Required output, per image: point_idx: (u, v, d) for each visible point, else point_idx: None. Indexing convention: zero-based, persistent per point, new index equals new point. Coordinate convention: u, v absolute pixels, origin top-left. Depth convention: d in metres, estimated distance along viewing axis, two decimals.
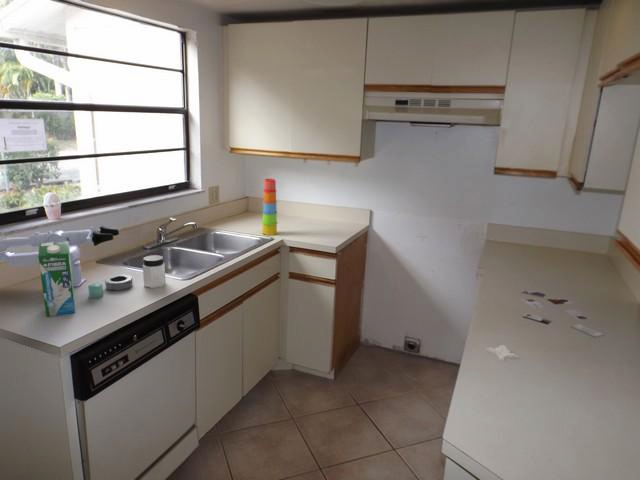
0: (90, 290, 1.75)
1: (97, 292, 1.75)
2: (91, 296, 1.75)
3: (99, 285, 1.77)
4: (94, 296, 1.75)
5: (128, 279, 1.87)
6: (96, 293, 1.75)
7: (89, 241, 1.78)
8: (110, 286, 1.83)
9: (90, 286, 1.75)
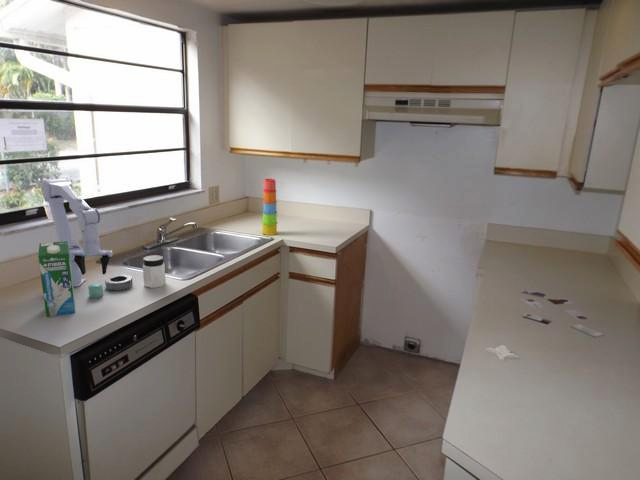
0: (90, 290, 1.75)
1: (97, 292, 1.75)
2: (91, 296, 1.75)
3: (99, 285, 1.77)
4: (94, 296, 1.75)
5: (128, 279, 1.87)
6: (96, 293, 1.75)
7: None
8: (110, 286, 1.83)
9: (90, 286, 1.75)
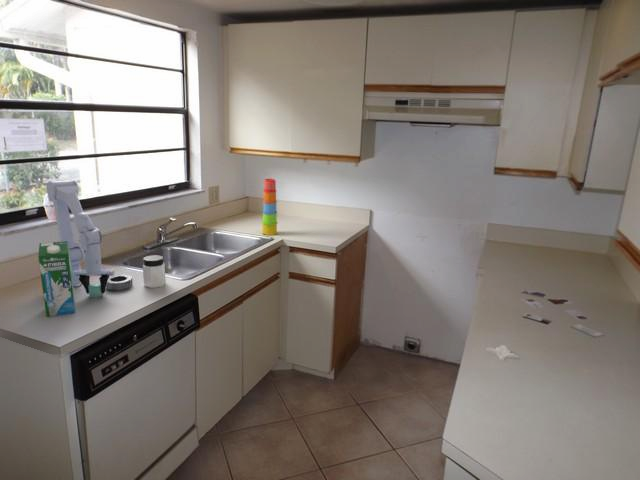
0: (90, 290, 1.75)
1: (97, 292, 1.75)
2: (91, 296, 1.75)
3: (99, 285, 1.77)
4: (94, 296, 1.75)
5: (128, 279, 1.87)
6: (96, 293, 1.75)
7: None
8: (110, 286, 1.83)
9: (90, 286, 1.75)
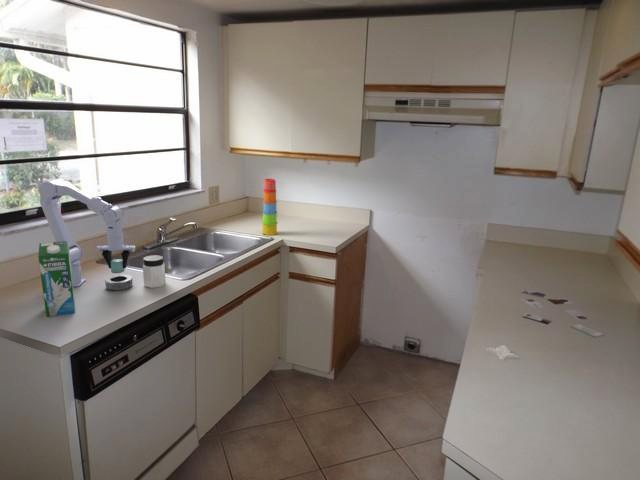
0: (112, 265, 1.83)
1: (119, 267, 1.84)
2: (113, 271, 1.84)
3: (120, 261, 1.85)
4: (116, 271, 1.83)
5: (128, 279, 1.87)
6: (117, 268, 1.83)
7: None
8: (110, 286, 1.83)
9: (112, 261, 1.84)
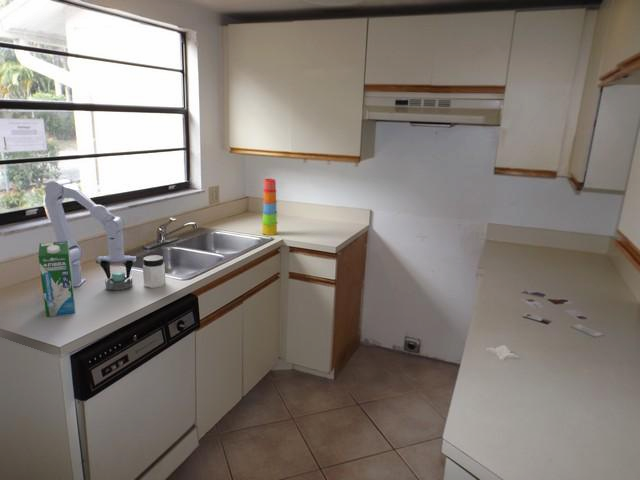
0: (113, 278, 1.85)
1: (120, 280, 1.85)
2: None
3: (122, 273, 1.87)
4: None
5: (128, 279, 1.87)
6: None
7: None
8: (110, 286, 1.83)
9: (113, 274, 1.85)
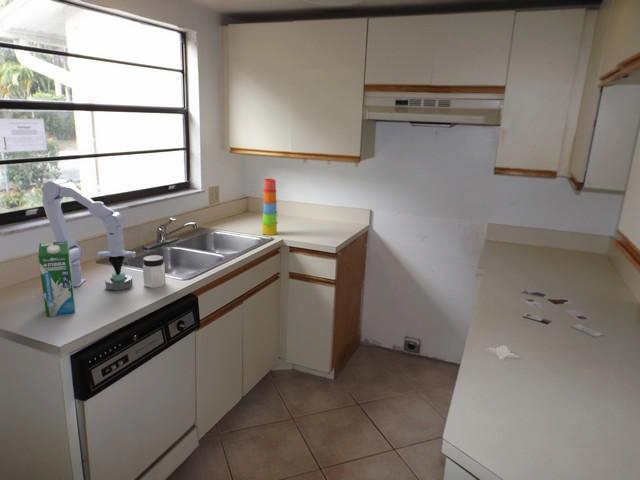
0: (113, 278, 1.85)
1: (120, 280, 1.85)
2: None
3: (122, 273, 1.87)
4: None
5: (128, 279, 1.87)
6: None
7: None
8: (110, 286, 1.83)
9: (113, 274, 1.85)
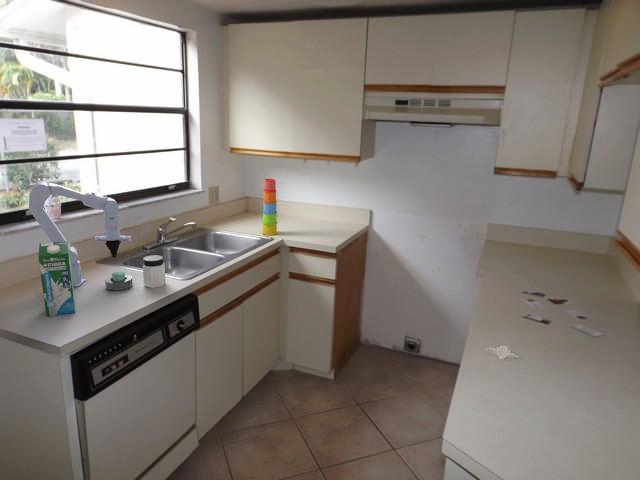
0: (113, 278, 1.85)
1: (120, 280, 1.85)
2: None
3: (122, 273, 1.87)
4: None
5: (128, 279, 1.87)
6: None
7: None
8: (110, 286, 1.83)
9: (113, 274, 1.85)
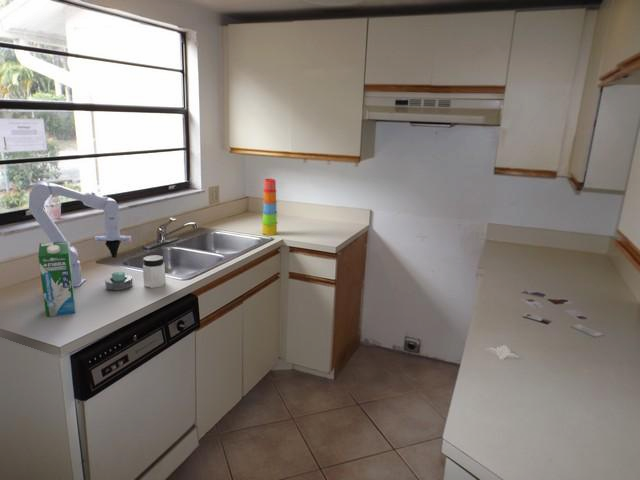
0: (113, 278, 1.85)
1: (120, 280, 1.85)
2: None
3: (122, 274, 1.87)
4: None
5: (128, 279, 1.87)
6: None
7: None
8: (110, 286, 1.83)
9: (113, 274, 1.85)
